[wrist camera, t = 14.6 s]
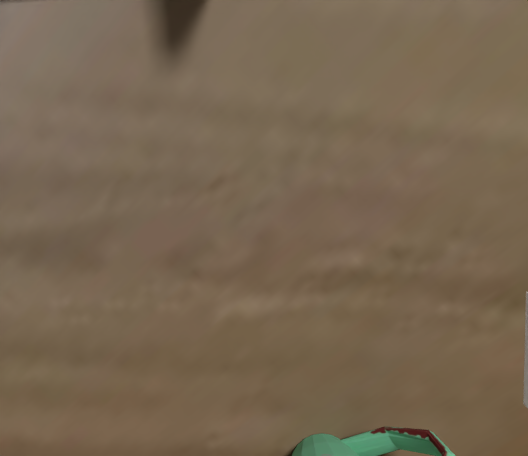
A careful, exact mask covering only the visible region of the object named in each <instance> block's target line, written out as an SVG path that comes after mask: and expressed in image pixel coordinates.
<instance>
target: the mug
mask: <svg viewBox="0 0 528 456" xmlns="http://www.w3.org/2000/svg"><path fill="white" fill-rule="evenodd" d="M399 449H401V450H407V451H413V452H419V453H424V454H430V455H435V456H455V455H454V454H453V453H452V452H451V451H450V450H449V449H448V448H447V446H446V445H445V444H444V443H443V442H442V441H441V440H440V439H439V438H438V437H437V436H436V435H435V434H434V433H433V432H431V431H430V430H422V429H410V428H397V427H381V428H378V429H375V430H372V431H368V432H365V433H362V434H358V435H355V436H352V437H349V438H345V439H342V440H340V439H339V438H337V437H335V436H332V435H330V434H322V433H321V434H315V435H311V436H309V437H307V438H305V439H303V440H302V441H301V442H300V443H299V444H298V445H297V446H296V448H295V450H294V451H293V454H292V456H378V455H382V454H385V453H389V452H392V451H396V450H399Z"/></svg>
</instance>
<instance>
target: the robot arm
mask: <svg viewBox="0 0 528 456" xmlns="http://www.w3.org/2000/svg"><path fill="white" fill-rule="evenodd" d="M524 405H525V406H526V407H527V408H528V292H526V323H525V365H524Z"/></svg>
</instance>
